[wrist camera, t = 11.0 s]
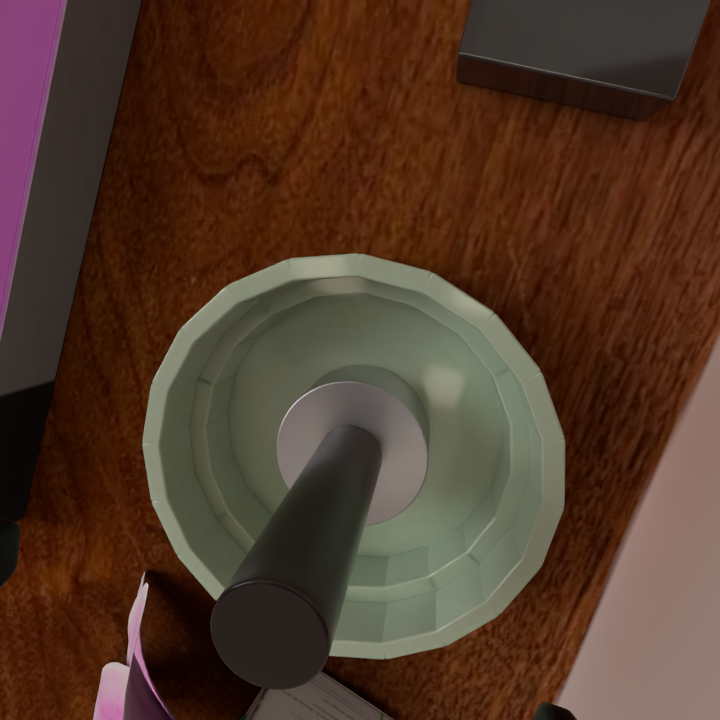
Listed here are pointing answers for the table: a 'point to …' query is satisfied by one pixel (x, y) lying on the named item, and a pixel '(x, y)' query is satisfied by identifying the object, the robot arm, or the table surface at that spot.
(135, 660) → the lily
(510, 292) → the table surface
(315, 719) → the syrup box
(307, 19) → the table surface
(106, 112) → the book
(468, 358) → the bowl
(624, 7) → the pole stand base
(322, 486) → the black post
